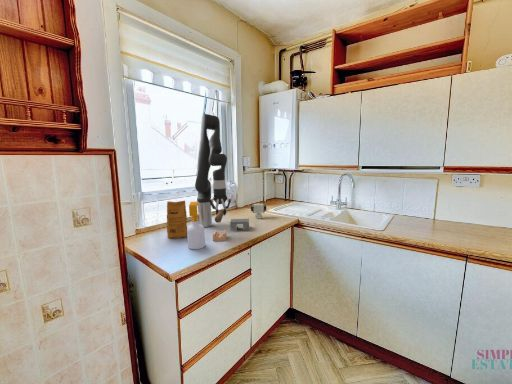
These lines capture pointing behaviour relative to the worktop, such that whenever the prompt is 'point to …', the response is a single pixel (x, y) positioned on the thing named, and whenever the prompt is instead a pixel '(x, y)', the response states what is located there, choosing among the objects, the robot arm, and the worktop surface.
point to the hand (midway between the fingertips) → (221, 215)
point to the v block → (219, 236)
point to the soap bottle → (195, 229)
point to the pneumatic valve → (258, 210)
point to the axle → (219, 216)
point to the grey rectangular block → (239, 221)
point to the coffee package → (176, 219)
